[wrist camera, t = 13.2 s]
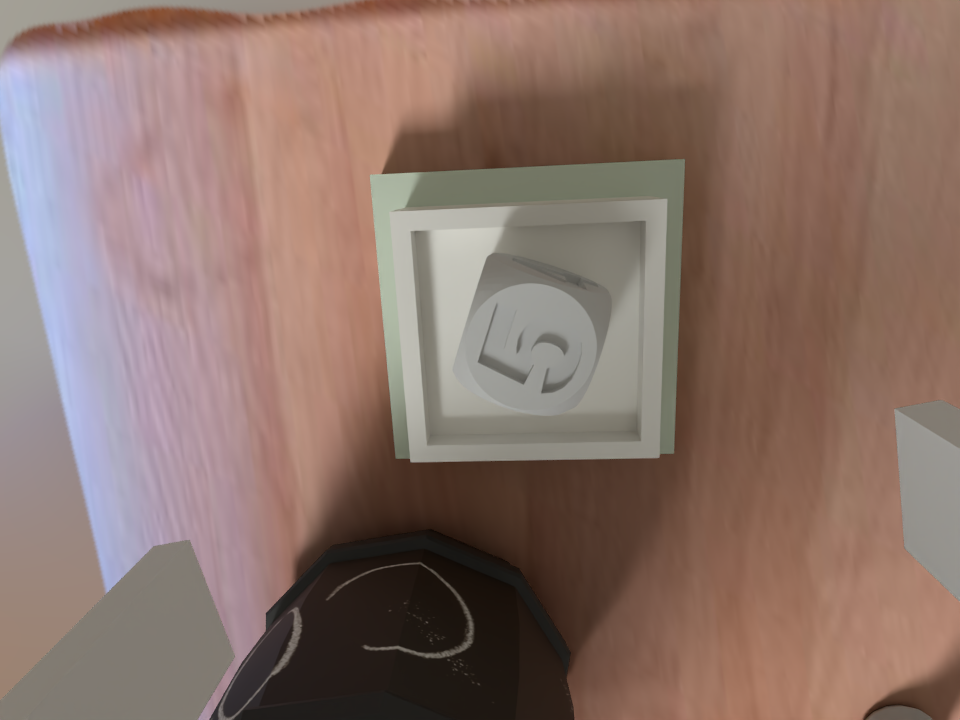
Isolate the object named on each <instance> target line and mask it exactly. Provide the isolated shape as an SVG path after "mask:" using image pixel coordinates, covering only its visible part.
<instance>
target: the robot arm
mask: <svg viewBox="0 0 960 720" xmlns="http://www.w3.org/2000/svg"><path fill="white" fill-rule="evenodd" d="M895 422H896V436H897V450H898V464H899V478H900V492H901V506H902V520H903V534H904V548H905V549H906V550H907V551H908V552H909V553H910V554H911V555H912V556H913V557H914V558H915V559H916V560H917V561H918V562H919V563H920V564H921V565H922V566H923V567H924V568H925V569H926V570H927V571H928V572H930V573H931V574H932V575H933V576H934V577H935V578H936V579H937V580H938V581H939V582H940V583H941V584H942V585H943V586H944V587H945V588H946V589H947V590H948V591H949V592H950V593H951V594H952V595H953V596H954V597H955V598H956V599H958V600H959V601H960V409H958V408H956V407H955V406H953V405H951V404H949V403H947V402H945V401H943V400H938V401H933V402H927V403H922V404H917V405H911V406H906V407H901V408H895ZM234 657H235V655H234V652H233V649H232V647H231V644H230V642H229V639H228V637H227V634H226V632H225V629H224V626H223V624H222V621H221V619H220V616H219V614H218V611H217V609H216V606H215V604H214V601H213V598H212V596H211V593H210V591H209V588H208V586H207V583H206V581H205V578H204V575H203V573H202V570H201V568H200V565H199V563H198V560H197V558H196V555H195V553H194V550H193V547H192V545H191V542H190V540H185V541H180V542H174V543H169V544H164V545H158V546H154V547H153V548H152V549H151V550H150V551H149V552H148V553H147V554H146V555H145V556H144V557H143V558H142V559H141V560H140V561H139V562H138V563H137V564H136V565H135V566H134V567H133V568H132V569H131V570H130V571H129V572H128V573H127V574H126V575H125V576H124V577H123V578H122V579H121V580H120V581H119V582H118V583H117V584H116V585H115V586H114V587H113V588H112V589H111V590H110V591H109V592H108V593H107V594H106V595H105V596H104V597H103V598H102V599H101V600H100V601H99V602H98V603H97V604H96V605H95V606H94V607H93V608H92V609H91V610H90V611H89V612H88V613H87V614H86V615H85V616H84V617H83V618H82V619H81V620H80V621H79V622H78V623H77V624H76V625H75V626H74V627H73V628H72V629H71V630H70V631H69V632H68V633H67V634H66V635H65V636H64V637H63V638H62V639H61V640H60V641H59V642H58V643H57V644H56V645H55V646H54V647H53V648H52V649H51V650H50V651H49V652H48V653H47V654H46V655H45V656H44V657H43V658H42V659H41V660H40V661H39V662H38V663H37V664H36V665H35V666H34V667H33V668H32V669H31V670H30V671H29V672H28V673H27V674H26V675H25V676H24V677H23V678H22V679H21V680H20V681H19V682H18V683H17V684H16V685H15V686H14V687H13V688H12V689H11V690H10V691H9V692H8V693H7V694H6V695H5V696H4V697H3V698H2V699H1V700H0V720H198V718H199V716H200V714H201V713H202V711H203V709H204V708H205V706H206V704H207V703H208V701H209V699H210V698H211V696H212V694H213V693H214V691H215V689H216V688H217V686H218V684H219V683H220V681H221V679H222V678H223V676H224V674H225V673H226V671H227V669H228V667H229V666H230V664H231V662H232V661H233V659H234Z"/></svg>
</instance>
